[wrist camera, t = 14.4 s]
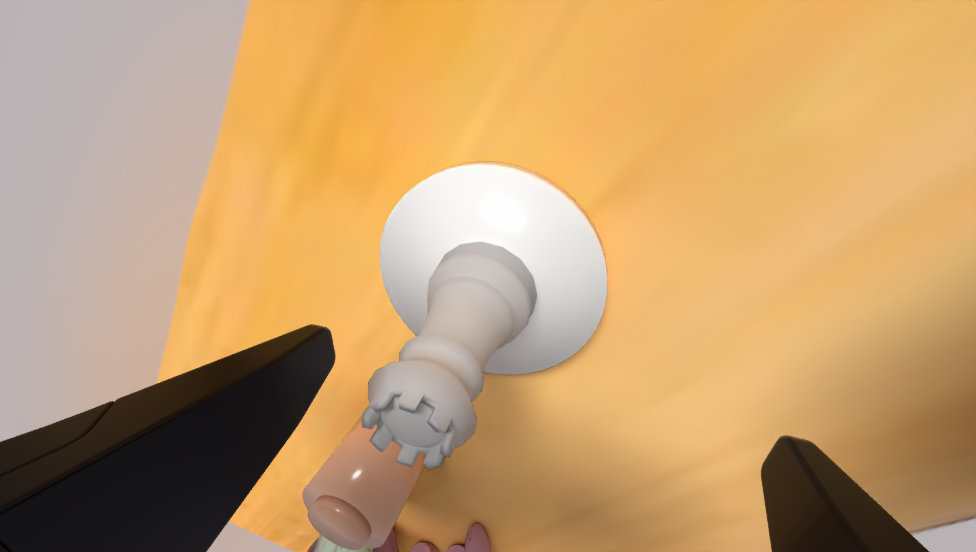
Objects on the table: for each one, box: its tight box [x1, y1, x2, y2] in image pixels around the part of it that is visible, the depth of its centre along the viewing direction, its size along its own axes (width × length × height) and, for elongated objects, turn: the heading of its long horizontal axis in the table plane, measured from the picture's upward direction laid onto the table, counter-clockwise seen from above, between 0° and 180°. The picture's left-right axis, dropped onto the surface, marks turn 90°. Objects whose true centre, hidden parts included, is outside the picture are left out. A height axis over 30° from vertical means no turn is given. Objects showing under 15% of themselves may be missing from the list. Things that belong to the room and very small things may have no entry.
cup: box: [303, 416, 427, 550], centre depth 22 cm, size 5×5×7 cm
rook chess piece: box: [362, 242, 537, 469], centre depth 14 cm, size 4×4×8 cm
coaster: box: [380, 161, 607, 375], centre depth 17 cm, size 10×10×1 cm
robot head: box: [307, 535, 374, 552], centre depth 28 cm, size 8×4×7 cm, turn 148°
